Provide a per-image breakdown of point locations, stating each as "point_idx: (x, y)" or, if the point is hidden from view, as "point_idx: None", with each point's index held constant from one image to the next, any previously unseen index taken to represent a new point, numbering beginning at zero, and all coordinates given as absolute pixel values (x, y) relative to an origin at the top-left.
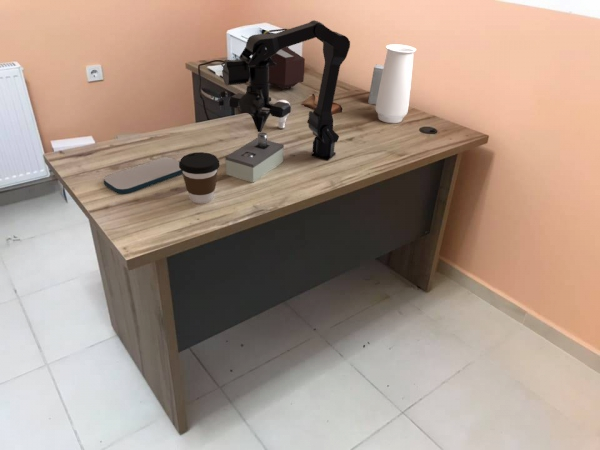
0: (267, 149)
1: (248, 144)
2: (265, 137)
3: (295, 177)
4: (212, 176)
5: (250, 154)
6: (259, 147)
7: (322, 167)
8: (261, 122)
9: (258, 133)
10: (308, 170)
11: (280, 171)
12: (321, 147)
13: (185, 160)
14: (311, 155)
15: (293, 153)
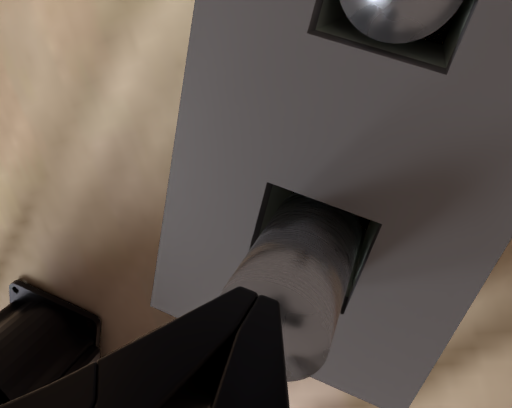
0: (236, 188)
1: (463, 268)
2: (226, 284)
3: (65, 24)
4: None
5: (378, 2)
6: (323, 213)
7: (6, 202)
8: (65, 377)
9: (324, 355)
10: (45, 148)
11: (180, 85)
12: (4, 340)
13: None
14: (96, 319)
15: None
